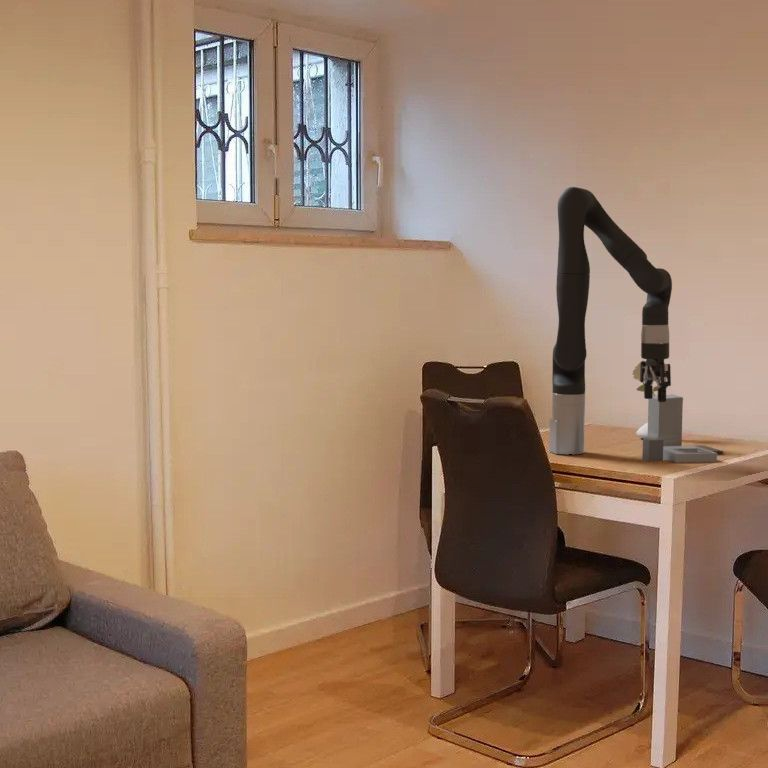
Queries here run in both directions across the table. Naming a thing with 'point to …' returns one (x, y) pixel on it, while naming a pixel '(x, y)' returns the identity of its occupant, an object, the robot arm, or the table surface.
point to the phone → (710, 449)
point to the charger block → (652, 449)
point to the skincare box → (666, 420)
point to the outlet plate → (688, 454)
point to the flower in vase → (636, 372)
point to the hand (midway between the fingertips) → (655, 400)
